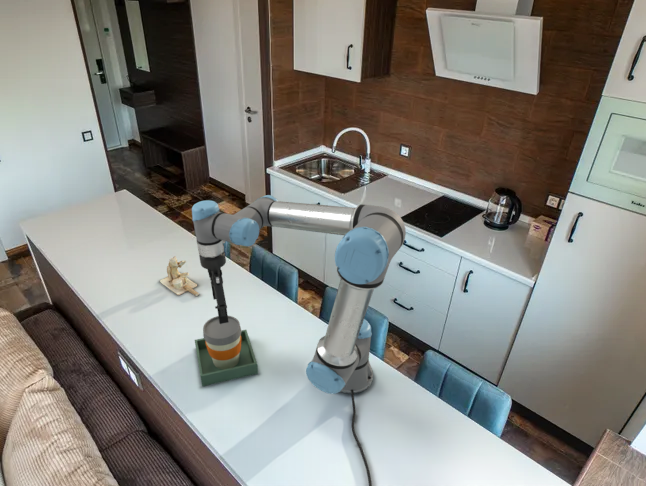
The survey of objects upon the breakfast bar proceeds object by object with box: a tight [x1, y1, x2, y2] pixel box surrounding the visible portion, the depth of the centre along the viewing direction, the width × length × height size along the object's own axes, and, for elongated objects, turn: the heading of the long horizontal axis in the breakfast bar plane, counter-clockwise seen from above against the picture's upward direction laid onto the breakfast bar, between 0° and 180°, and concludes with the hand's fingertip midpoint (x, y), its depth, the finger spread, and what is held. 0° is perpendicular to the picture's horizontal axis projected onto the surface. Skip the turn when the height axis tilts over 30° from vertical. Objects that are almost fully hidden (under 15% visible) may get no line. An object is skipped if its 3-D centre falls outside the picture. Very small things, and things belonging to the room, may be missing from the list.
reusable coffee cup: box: [202, 315, 242, 369], centre depth 153 cm, size 13×13×15 cm
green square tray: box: [194, 329, 259, 387], centre depth 156 cm, size 19×19×5 cm
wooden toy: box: [159, 255, 200, 297], centre depth 192 cm, size 22×10×14 cm, turn 44°
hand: (220, 310), depth 145 cm, fingers open, 13 cm apart
